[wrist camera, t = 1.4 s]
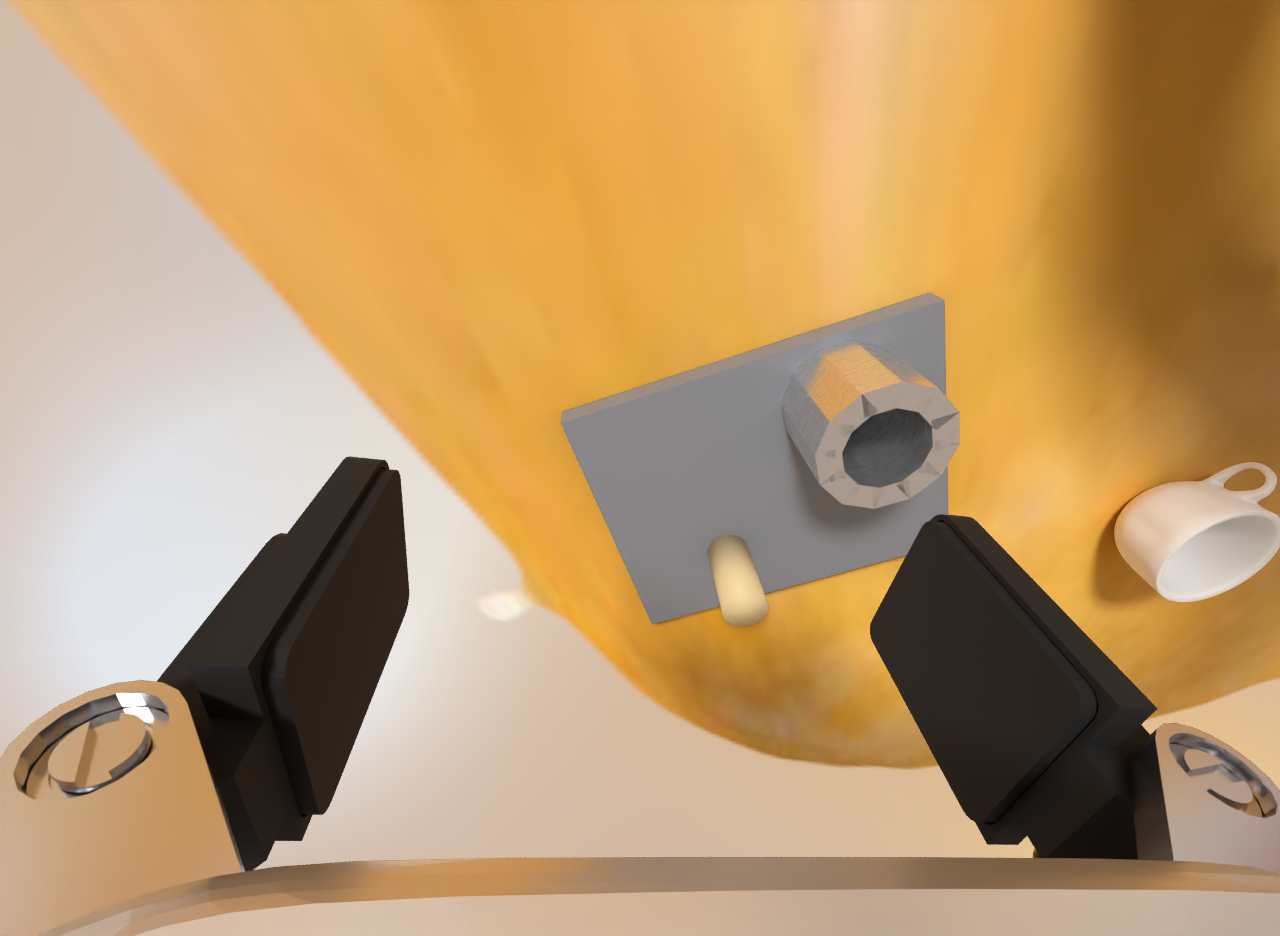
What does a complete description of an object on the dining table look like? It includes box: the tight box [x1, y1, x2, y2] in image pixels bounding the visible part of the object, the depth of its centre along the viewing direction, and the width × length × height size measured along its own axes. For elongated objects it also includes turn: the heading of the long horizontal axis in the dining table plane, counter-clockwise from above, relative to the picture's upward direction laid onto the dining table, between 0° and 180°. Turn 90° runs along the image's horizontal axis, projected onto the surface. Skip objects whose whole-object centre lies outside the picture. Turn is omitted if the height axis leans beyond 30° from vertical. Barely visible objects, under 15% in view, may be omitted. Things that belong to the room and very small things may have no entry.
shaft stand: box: [561, 293, 948, 627], centre depth 34 cm, size 22×18×7 cm
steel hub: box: [781, 338, 959, 509], centre depth 30 cm, size 7×7×6 cm
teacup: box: [1114, 462, 1280, 602], centre depth 38 cm, size 10×8×5 cm
